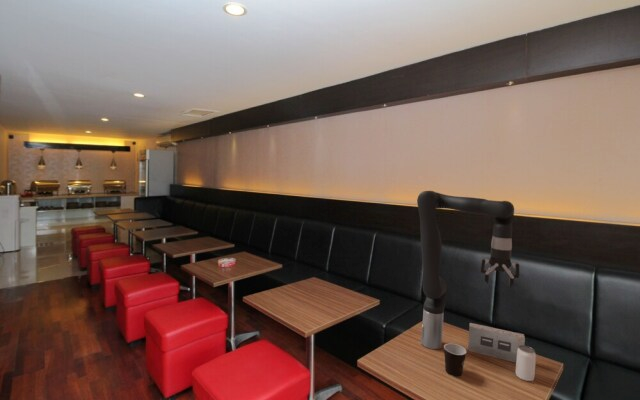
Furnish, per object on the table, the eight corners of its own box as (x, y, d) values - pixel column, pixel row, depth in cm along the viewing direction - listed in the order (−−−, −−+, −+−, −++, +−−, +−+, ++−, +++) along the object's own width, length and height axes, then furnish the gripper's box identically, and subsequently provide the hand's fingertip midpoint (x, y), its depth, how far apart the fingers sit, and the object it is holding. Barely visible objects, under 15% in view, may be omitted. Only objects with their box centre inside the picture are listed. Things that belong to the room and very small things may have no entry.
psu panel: (467, 351, 146) (469, 326, 145) (468, 346, 150) (469, 322, 149) (523, 365, 136) (525, 338, 135) (521, 359, 140) (523, 334, 139)
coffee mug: (455, 380, 124) (456, 356, 123) (438, 368, 131) (439, 346, 131) (474, 373, 129) (475, 350, 128) (456, 361, 137) (458, 340, 136)
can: (537, 383, 124) (539, 354, 123) (519, 380, 125) (521, 352, 124) (529, 373, 130) (531, 345, 129) (512, 370, 131) (514, 343, 131)
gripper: (519, 248, 132) (516, 285, 133) (482, 243, 138) (479, 279, 139) (522, 251, 125) (518, 290, 126) (482, 247, 132) (479, 284, 133)
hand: (498, 284), depth 133 cm, fingers open, 8 cm apart
